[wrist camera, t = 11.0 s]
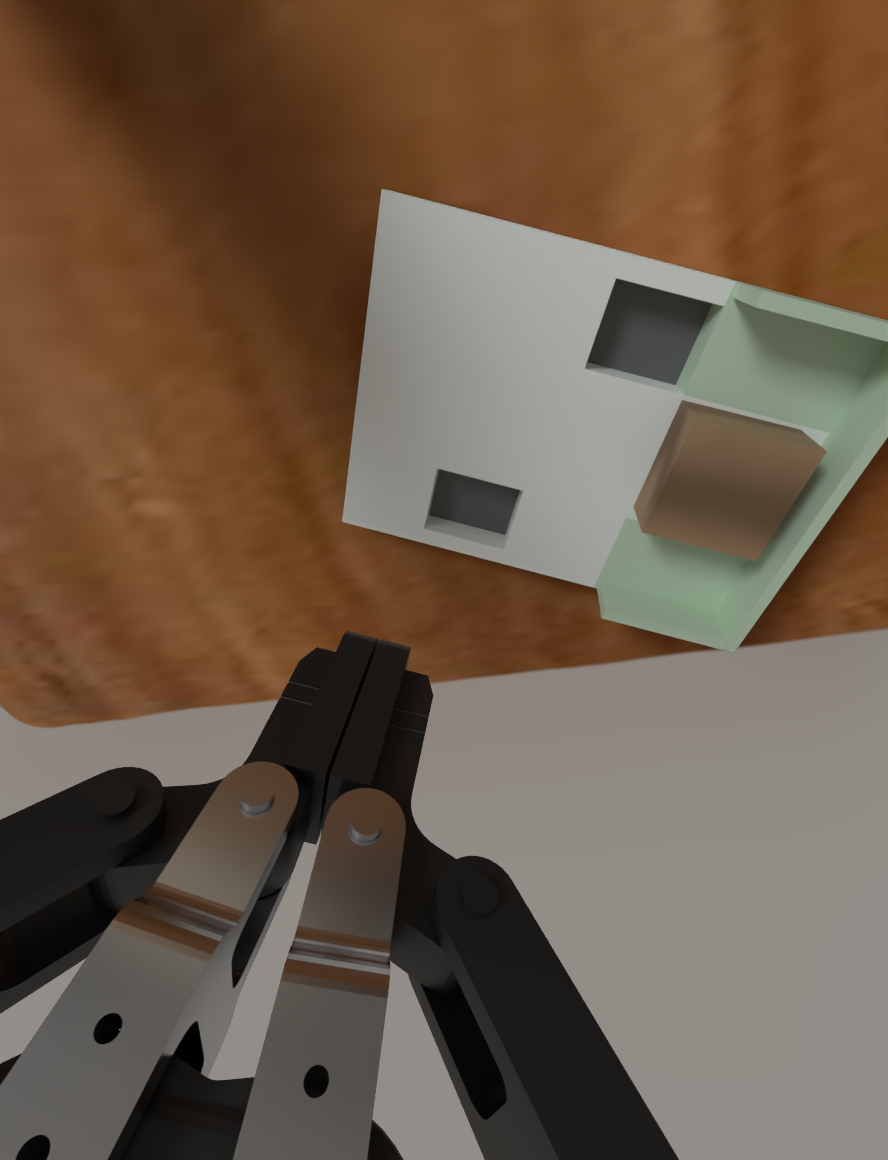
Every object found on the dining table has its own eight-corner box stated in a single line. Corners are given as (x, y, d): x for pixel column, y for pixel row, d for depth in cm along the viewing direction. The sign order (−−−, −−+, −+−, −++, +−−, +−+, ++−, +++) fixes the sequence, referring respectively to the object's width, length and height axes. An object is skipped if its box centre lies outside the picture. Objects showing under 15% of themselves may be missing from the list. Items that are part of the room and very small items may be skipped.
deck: (391, 190, 25) (363, 186, 21) (888, 320, 25) (956, 341, 21) (351, 507, 35) (326, 546, 31) (711, 601, 35) (733, 653, 31)
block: (681, 399, 27) (696, 418, 24) (800, 429, 27) (826, 451, 24) (633, 506, 30) (641, 532, 28) (738, 532, 30) (756, 561, 28)
